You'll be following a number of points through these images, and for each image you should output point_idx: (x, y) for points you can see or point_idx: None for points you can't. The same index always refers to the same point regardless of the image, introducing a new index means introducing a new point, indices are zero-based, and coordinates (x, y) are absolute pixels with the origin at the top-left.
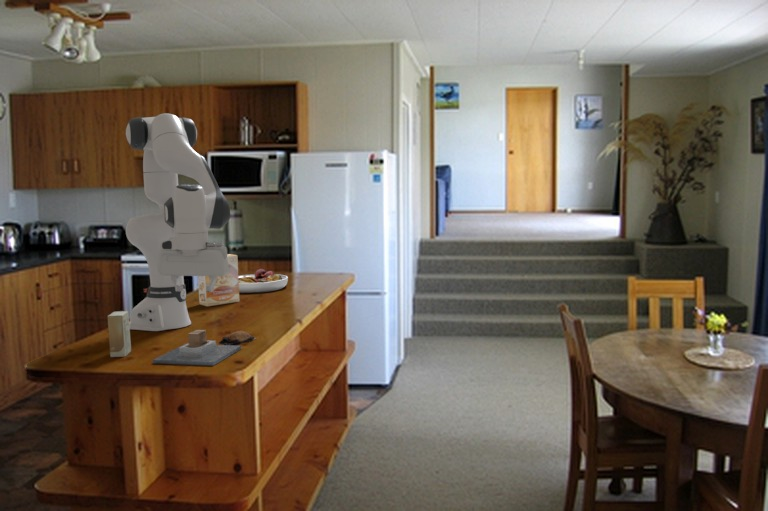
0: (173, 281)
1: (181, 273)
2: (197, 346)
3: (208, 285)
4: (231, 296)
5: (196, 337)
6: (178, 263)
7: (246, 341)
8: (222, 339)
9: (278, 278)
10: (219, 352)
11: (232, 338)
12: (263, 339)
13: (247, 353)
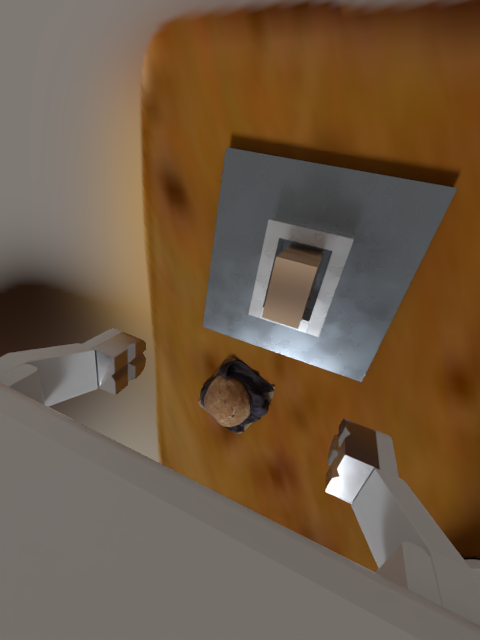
0: (424, 523)
1: (284, 559)
2: (289, 249)
3: (107, 374)
4: None
5: (285, 256)
6: None
7: (210, 380)
8: (263, 396)
9: None
10: (237, 266)
11: (235, 386)
12: (184, 394)
13: (180, 279)
